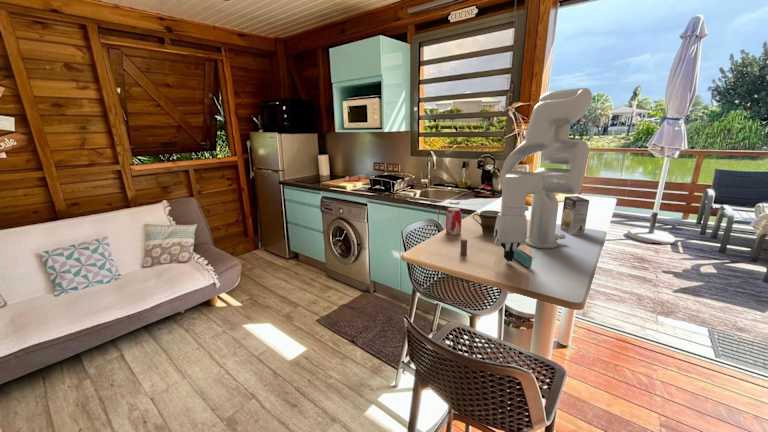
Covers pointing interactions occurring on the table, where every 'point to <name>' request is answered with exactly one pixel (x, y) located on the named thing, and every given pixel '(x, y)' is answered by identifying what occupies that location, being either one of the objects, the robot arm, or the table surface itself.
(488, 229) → the ceramic cup
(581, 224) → the coffee box
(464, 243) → the gate posts
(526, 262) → the bar
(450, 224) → the soda can
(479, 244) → the table surface
